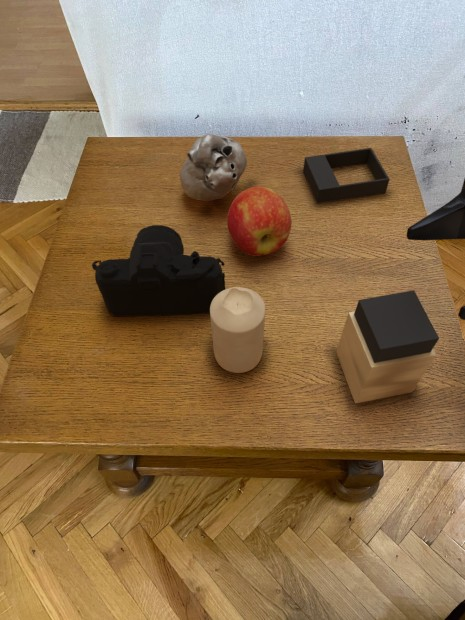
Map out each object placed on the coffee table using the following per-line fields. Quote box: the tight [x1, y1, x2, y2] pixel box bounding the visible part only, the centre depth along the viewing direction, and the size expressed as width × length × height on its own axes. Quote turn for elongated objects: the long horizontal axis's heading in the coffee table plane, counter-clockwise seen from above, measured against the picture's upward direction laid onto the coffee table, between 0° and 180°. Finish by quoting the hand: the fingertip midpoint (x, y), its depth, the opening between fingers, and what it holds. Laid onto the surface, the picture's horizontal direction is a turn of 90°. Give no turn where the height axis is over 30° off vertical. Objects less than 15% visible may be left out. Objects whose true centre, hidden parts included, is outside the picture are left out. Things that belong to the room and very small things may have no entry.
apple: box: [226, 186, 293, 257], centre depth 61 cm, size 8×8×8 cm
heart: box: [179, 133, 248, 202], centre depth 66 cm, size 10×10×12 cm
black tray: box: [302, 147, 390, 204], centre depth 70 cm, size 10×7×2 cm
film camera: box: [91, 224, 226, 317], centre depth 57 cm, size 15×10×9 cm, turn 91°
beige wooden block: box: [335, 310, 437, 404], centre depth 50 cm, size 6×6×8 cm
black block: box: [354, 289, 440, 363], centre depth 46 cm, size 6×6×2 cm
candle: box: [209, 286, 266, 374], centre depth 51 cm, size 6×6×10 cm
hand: (431, 270), depth 39 cm, fingers open, 9 cm apart
